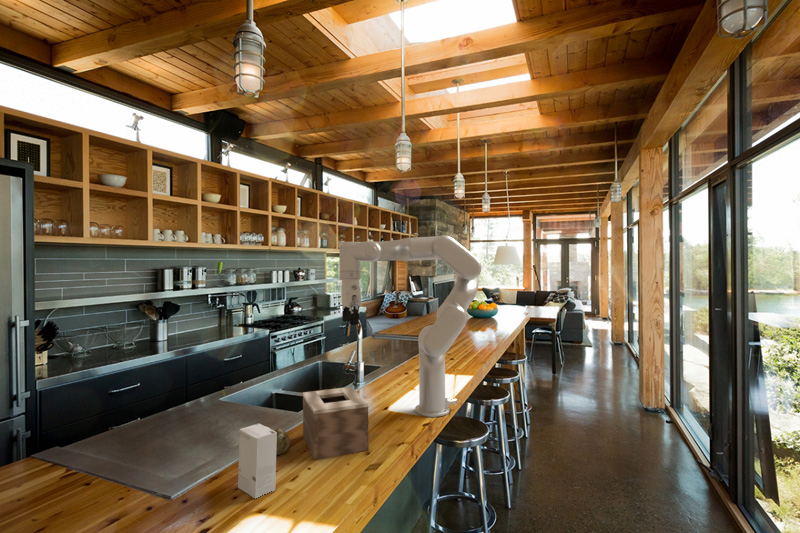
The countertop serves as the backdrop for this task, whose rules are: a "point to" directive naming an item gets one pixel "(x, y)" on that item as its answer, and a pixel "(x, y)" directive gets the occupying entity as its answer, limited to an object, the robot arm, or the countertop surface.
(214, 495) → the countertop surface
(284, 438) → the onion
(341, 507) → the countertop surface
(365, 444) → the drop box
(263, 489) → the skincare box
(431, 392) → the robot arm
